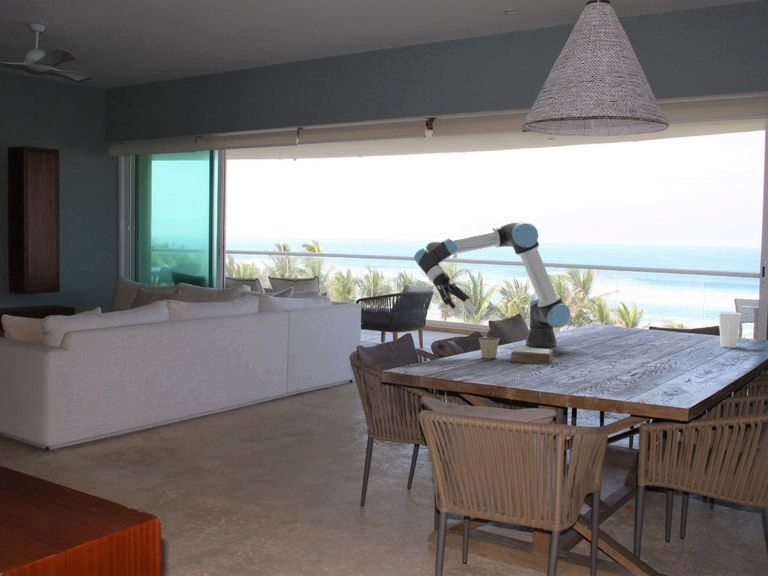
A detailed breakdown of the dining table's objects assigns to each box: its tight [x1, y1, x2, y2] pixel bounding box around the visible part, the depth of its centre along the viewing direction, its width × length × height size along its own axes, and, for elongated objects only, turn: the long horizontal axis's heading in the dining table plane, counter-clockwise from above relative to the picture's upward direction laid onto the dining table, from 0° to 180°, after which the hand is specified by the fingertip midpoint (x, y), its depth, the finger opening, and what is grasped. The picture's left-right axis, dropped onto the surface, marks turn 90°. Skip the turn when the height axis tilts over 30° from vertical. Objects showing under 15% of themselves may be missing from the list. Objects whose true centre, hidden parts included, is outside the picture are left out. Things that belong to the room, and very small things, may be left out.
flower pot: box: [477, 336, 501, 360], centre depth 348 cm, size 9×9×9 cm
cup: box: [717, 311, 742, 349], centre depth 400 cm, size 11×10×17 cm
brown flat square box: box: [510, 347, 554, 365], centre depth 343 cm, size 16×16×4 cm
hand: (467, 312), depth 353 cm, fingers open, 13 cm apart
